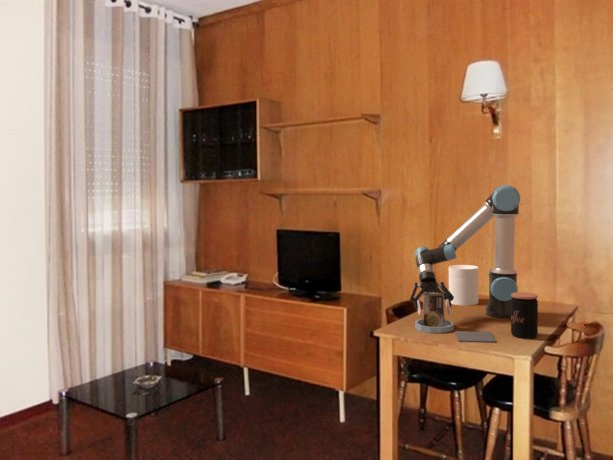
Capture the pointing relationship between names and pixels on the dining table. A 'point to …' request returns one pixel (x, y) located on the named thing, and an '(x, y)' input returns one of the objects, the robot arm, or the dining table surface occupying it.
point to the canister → (463, 284)
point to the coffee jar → (524, 315)
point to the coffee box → (433, 309)
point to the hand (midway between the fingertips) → (434, 313)
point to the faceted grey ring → (434, 329)
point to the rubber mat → (474, 336)
